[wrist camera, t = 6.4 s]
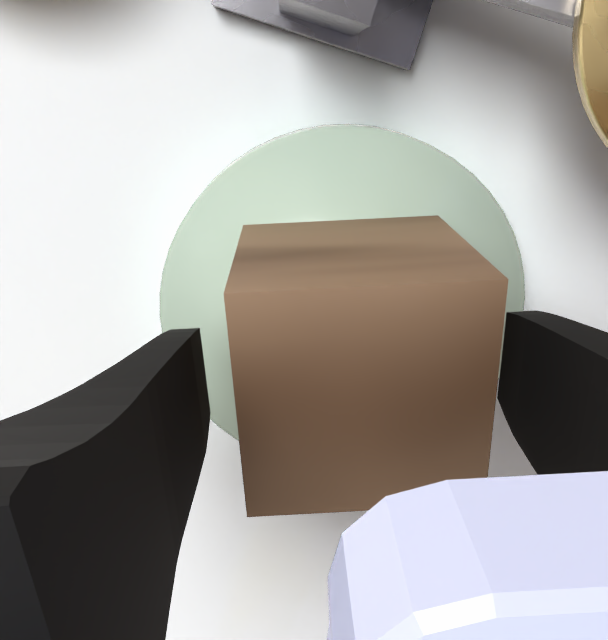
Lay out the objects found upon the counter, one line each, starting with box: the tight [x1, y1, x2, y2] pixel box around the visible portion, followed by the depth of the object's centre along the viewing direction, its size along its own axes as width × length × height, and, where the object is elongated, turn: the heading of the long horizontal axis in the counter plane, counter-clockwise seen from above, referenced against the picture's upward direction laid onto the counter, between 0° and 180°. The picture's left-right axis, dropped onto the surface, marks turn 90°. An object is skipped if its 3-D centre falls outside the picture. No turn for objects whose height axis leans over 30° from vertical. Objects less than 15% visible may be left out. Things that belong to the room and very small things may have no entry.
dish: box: [160, 124, 525, 440], centre depth 14 cm, size 9×9×1 cm
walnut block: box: [224, 215, 509, 517], centre depth 12 cm, size 4×4×4 cm
